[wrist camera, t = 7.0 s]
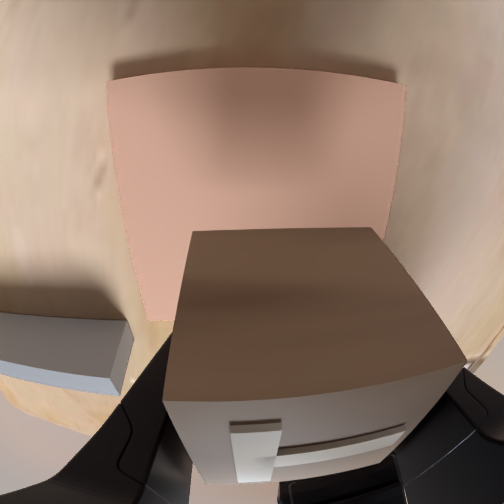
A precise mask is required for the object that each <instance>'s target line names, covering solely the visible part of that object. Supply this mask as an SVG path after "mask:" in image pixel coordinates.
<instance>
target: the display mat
mask: <svg viewBox="0 0 504 504" xmlns="http://www.w3.org/2000/svg"><path fill="white" fill-rule="evenodd" d="M106 86H107V102H108V115H109V125H110V135H111V144H112V152H113V160H114V167H115V174H116V180H117V187H118V193H119V199H120V204H121V210H122V215H123V220H124V225H125V230H126V235H127V240H128V244H129V249H130V253H131V258H132V262H133V266H134V270H135V274H136V278H137V282H138V286H139V290H140V293H141V297H142V301H143V304H144V308H145V311H146V315H147V318H148V321H175V315H176V310H177V304H178V299H179V294H180V289H181V284H182V278H183V273H184V269H185V264H186V259H187V254H188V249H189V245H190V240H191V236H192V231H209V230H240V229H278V228H337V227H371V228H372V229H373V230H374V231H375V232H376V234H377V235H378V236H379V237H380V238H381V240H382V241H383V240H384V236H385V232H386V227H387V222H388V218H389V213H390V208H391V203H392V198H393V192H394V186H395V181H396V175H397V168H398V162H399V155H400V148H401V140H402V131H403V122H404V112H405V101H406V85H402V84H397V83H393V82H388V81H383V80H378V79H372V78H367V77H361V76H354V75H348V74H340V73H332V72H324V71H314V70H302V69H287V68H258V67H237V68H208V69H193V70H181V71H171V72H162V73H154V74H147V75H140V76H134V77H128V78H122V79H117V80H112V81H107V82H106Z"/></svg>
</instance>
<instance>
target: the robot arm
mask: <svg viewBox="0 0 504 504" xmlns="http://www.w3.org/2000/svg"><path fill="white" fill-rule="evenodd" d="M172 333H173V332H172ZM172 333H171V334H170V336H169V337H168V338H167V340H166V341H165V342H164V344H163V345H162V346H161V348H160V349H159V350H158V352H157V353H156V354H155V356H154V357H153V359H152V360H151V361H150V363H149V364H148V365H147V367H146V368H145V369H144V371H143V372H142V373H141V375H140V376H139V377H138V379H137V380H136V381H135V383H134V384H133V385H132V387H131V388H130V390H129V391H128V392H127V394H126V395H125V396H124V398H123V399H122V400H121V404H118V406H117V407H116V408H115V410H114V411H113V413H112V414H111V415H110V416H109V418H108V419H107V420H106V422H105V423H104V424H103V425H102V427H101V428H100V429H99V430H98V431H97V432H96V433H95V435H94V436H93V437H92V438H91V439H90V440H89V441H88V442H87V444H85V446H84V447H83V448H82V449H81V450H80V451H79V452H78V453H77V454H76V455H75V456H74V457H73V458H72V459H71V460H70V461H69V462H68V464H67V465H66V466H65V467H64V468H63V469H62V470H61V471H60V472H58V473H57V474H56V475H54V476H53V477H51V478H50V479H48V480H46V481H44V482H41V483H38V484H35V485H32V486H29V487H26V488H23V489H20V490H17V491H13V492H10V493H6V494H3V495H0V504H189V494H190V484H191V473H192V464H193V461H192V460H191V458H190V456H189V454H188V452H187V450H186V448H185V446H184V445H183V443H182V441H181V439H180V437H179V435H178V433H177V431H176V429H175V427H174V425H173V423H172V420H171V418H170V416H169V414H168V412H167V410H166V408H165V406H164V403H163V401H162V399H163V391H164V384H165V377H166V370H167V364H168V357H169V351H170V345H171V339H172ZM404 489H405V492H404ZM405 493H406V497H407V502H408V504H504V395H503V394H501V393H500V392H498V391H496V390H495V389H493V388H492V387H491V386H489V385H488V384H486V383H485V382H483V381H482V380H481V379H479V378H478V377H476V376H475V375H474V374H472V373H471V372H470V371H469V370H467V369H466V368H465V367H464V368H462V370H461V371H460V372H459V374H458V375H457V377H456V378H455V379H454V381H453V382H452V383H451V385H450V386H449V387H448V389H447V390H446V391H445V392H444V394H443V395H442V396H441V398H440V399H439V400H438V401H437V403H436V404H435V405H434V406H433V407H432V409H431V410H430V411H429V412H428V413H427V414H426V416H425V417H424V418H423V419H422V420H421V421H420V422H419V424H418V425H417V426H416V427H415V428H414V429H413V430H412V431H411V432H410V433H409V434H408V435H407V436H406V438H405V439H404V440H403V441H402V442H401V443H400V444H399V445H398V446H397V447H396V448H395V449H394V450H393V451H392V452H391V453H390V454H388V455H387V456H386V457H385V458H384V459H383V460H382V461H381V462H380V463H377V464H373V465H369V466H366V467H362V468H358V469H353V470H349V471H344V472H340V473H335V474H329V475H324V476H318V477H312V478H306V479H298V480H290V481H282V482H279V490H278V497H277V502H278V504H407V502H406V497H405Z"/></svg>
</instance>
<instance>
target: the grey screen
mask: <svg viewBox="0 0 504 504" xmlns="http://www.w3.org/2000/svg"><path fill="white" fill-rule="evenodd" d="M133 342H134V338H133V335H132V333H131V330H130V327H129V325H128V322H127V321H124V320H96V319H76V318H60V317H46V316H34V315H23V314H13V313H4V312H0V374H3V375H6V376H10V377H14V378H18V379H22V380H26V381H30V382H35V383H39V384H44V385H49V386H54V387H59V388H65V389H71V390H77V391H83V392H90V393H97V394H105V395H114V396H120V395H121V390H122V386H123V382H124V377H125V373H126V369H127V365H128V361H129V358H130V354H131V350H132V346H133Z"/></svg>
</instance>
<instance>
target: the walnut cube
mask: <svg viewBox="0 0 504 504" xmlns="http://www.w3.org/2000/svg"><path fill="white" fill-rule="evenodd" d="M466 362H467V359H466V357H465V356H464V354H463V352H462V351H461V349H460V348H459V346H458V344H457V343H456V341H455V340H454V338H453V337H452V335H451V333H450V332H449V330H448V329H447V327H446V326H445V324H444V323H443V321H442V320H441V318H440V317H439V316H438V314H437V313H436V311H435V310H434V308H433V307H432V305H431V304H430V303H429V301H428V300H427V298H426V297H425V296H424V294H423V293H422V291H421V290H420V289H419V287H418V286H417V285H416V283H415V282H414V281H413V279H412V278H411V277H410V275H409V274H408V273H407V271H406V270H405V269H404V267H403V266H402V265H401V263H400V262H399V261H398V260H397V258H396V257H395V256H394V255H393V253H392V252H391V251H390V250H389V248H388V247H387V246H386V245H385V243H384V242H383V241H382V240H381V238H380V237H379V236H378V235H377V234H376V232H375V231H374V230H373V229H372V228H371V227H337V228H278V229H240V230H209V231H192V236H191V240H190V245H189V249H188V254H187V259H186V264H185V269H184V273H183V278H182V284H181V289H180V294H179V299H178V304H177V310H176V315H175V321H174V327H173V333H172V339H171V345H170V351H169V357H168V364H167V370H166V377H165V384H164V391H163V399H162V401H163V403H164V406H165V408H166V410H167V412H168V414H169V416H170V418H171V420H172V423H173V425H174V427H175V429H176V431H177V433H178V435H179V437H180V439H181V441H182V443H183V445H184V446H185V448H186V450H187V452H188V454H189V456H190V458H191V460H192V461H193V463H194V465H195V467H196V468H197V470H198V472H199V474H200V475H201V477H202V479H203V481H204V482H205V484H206V485H236V484H256V483H271V482H282V481H290V480H298V479H306V478H312V477H318V476H324V475H329V474H335V473H340V472H344V471H349V470H353V469H358V468H362V467H366V466H369V465H373V464H377V463H380V462H381V461H382V460H383V459H384V458H385V457H386V456H387V455H388V454H390V453H391V452H392V451H393V450H394V449H395V448H396V447H397V446H398V445H399V444H400V443H401V442H402V441H403V440H404V439H405V438H406V436H407V435H408V434H409V433H410V432H411V431H412V430H413V429H414V428H415V427H416V426H417V425H418V424H419V422H420V421H421V420H422V419H423V418H424V417H425V416H426V414H427V413H428V412H429V411H430V410H431V409H432V407H433V406H434V405H435V404H436V403H437V401H438V400H439V399H440V398H441V396H442V395H443V394H444V392H445V391H446V390H447V389H448V387H449V386H450V385H451V383H452V382H453V381H454V379H455V378H456V377H457V375H458V374H459V372H460V371H461V370H462V368H463V367H464V365H465V364H466Z"/></svg>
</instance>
